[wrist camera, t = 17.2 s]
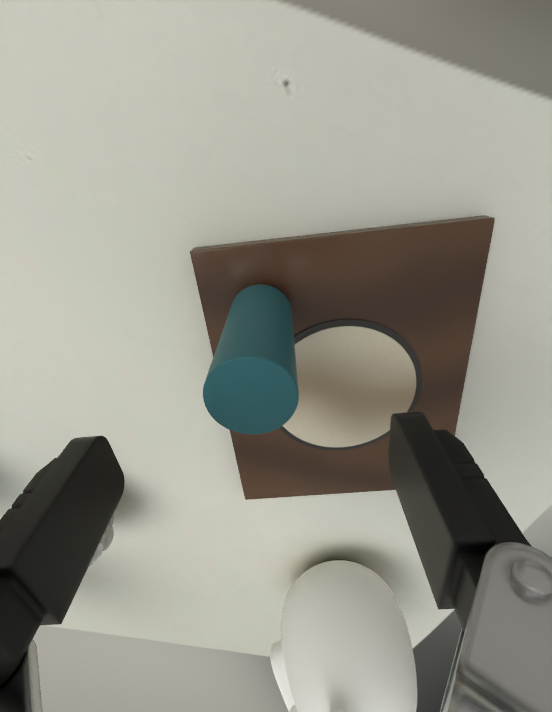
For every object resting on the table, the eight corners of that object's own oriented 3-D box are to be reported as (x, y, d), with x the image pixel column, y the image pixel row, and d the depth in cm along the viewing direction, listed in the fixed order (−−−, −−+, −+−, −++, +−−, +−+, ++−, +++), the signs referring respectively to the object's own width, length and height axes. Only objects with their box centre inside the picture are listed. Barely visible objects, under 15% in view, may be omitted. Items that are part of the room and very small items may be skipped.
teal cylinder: (228, 281, 19) (192, 361, 11) (288, 275, 19) (294, 352, 11) (237, 336, 21) (213, 438, 13) (293, 330, 21) (302, 431, 13)
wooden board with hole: (193, 247, 19) (188, 252, 18) (485, 215, 18) (498, 218, 17) (246, 490, 29) (244, 502, 28) (440, 476, 28) (446, 488, 27)
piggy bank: (249, 575, 35) (232, 819, 22) (330, 519, 31) (369, 782, 18) (335, 616, 39) (364, 845, 26) (419, 571, 35) (504, 820, 21)
